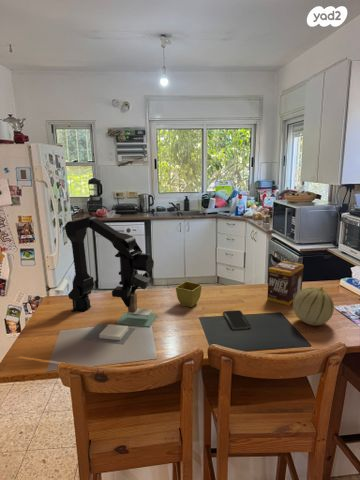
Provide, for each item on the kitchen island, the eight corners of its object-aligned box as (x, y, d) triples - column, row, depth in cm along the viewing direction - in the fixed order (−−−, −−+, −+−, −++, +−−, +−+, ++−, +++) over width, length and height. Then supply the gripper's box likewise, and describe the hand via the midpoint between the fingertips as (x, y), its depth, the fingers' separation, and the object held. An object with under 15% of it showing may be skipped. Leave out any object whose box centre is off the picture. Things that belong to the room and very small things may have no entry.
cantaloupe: (284, 318, 136) (286, 283, 132) (311, 312, 141) (314, 278, 138) (311, 335, 123) (314, 297, 119) (340, 327, 128) (344, 290, 125)
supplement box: (266, 300, 154) (268, 267, 151) (280, 290, 166) (282, 260, 162) (288, 306, 148) (290, 272, 144) (301, 295, 159) (304, 264, 156)
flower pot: (192, 310, 145) (192, 290, 143) (175, 306, 149) (175, 287, 147) (202, 303, 152) (202, 284, 150) (185, 299, 157) (185, 281, 154)
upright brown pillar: (126, 314, 133) (126, 296, 132) (131, 309, 138) (130, 291, 136) (148, 317, 131) (147, 298, 130) (152, 311, 136) (151, 293, 134)
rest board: (116, 324, 133) (116, 322, 132) (126, 314, 142) (126, 311, 142) (149, 328, 129) (149, 326, 129) (157, 317, 139) (157, 314, 139)
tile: (99, 334, 121) (119, 336, 119) (108, 324, 129) (128, 326, 127) (99, 338, 121) (119, 340, 120) (109, 327, 129) (128, 330, 127)
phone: (231, 328, 127) (222, 311, 142) (231, 331, 127) (222, 313, 142) (252, 326, 128) (240, 310, 143) (252, 329, 128) (240, 312, 143)
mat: (82, 340, 121) (81, 339, 121) (97, 325, 132) (97, 324, 132) (123, 345, 117) (123, 344, 117) (135, 329, 129) (135, 328, 129)
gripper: (138, 277, 121) (140, 317, 124) (154, 262, 138) (155, 298, 142) (110, 275, 123) (112, 314, 127) (129, 261, 141) (131, 295, 145)
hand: (129, 305), depth 135 cm, fingers closed on upright brown pillar, 3 cm apart
